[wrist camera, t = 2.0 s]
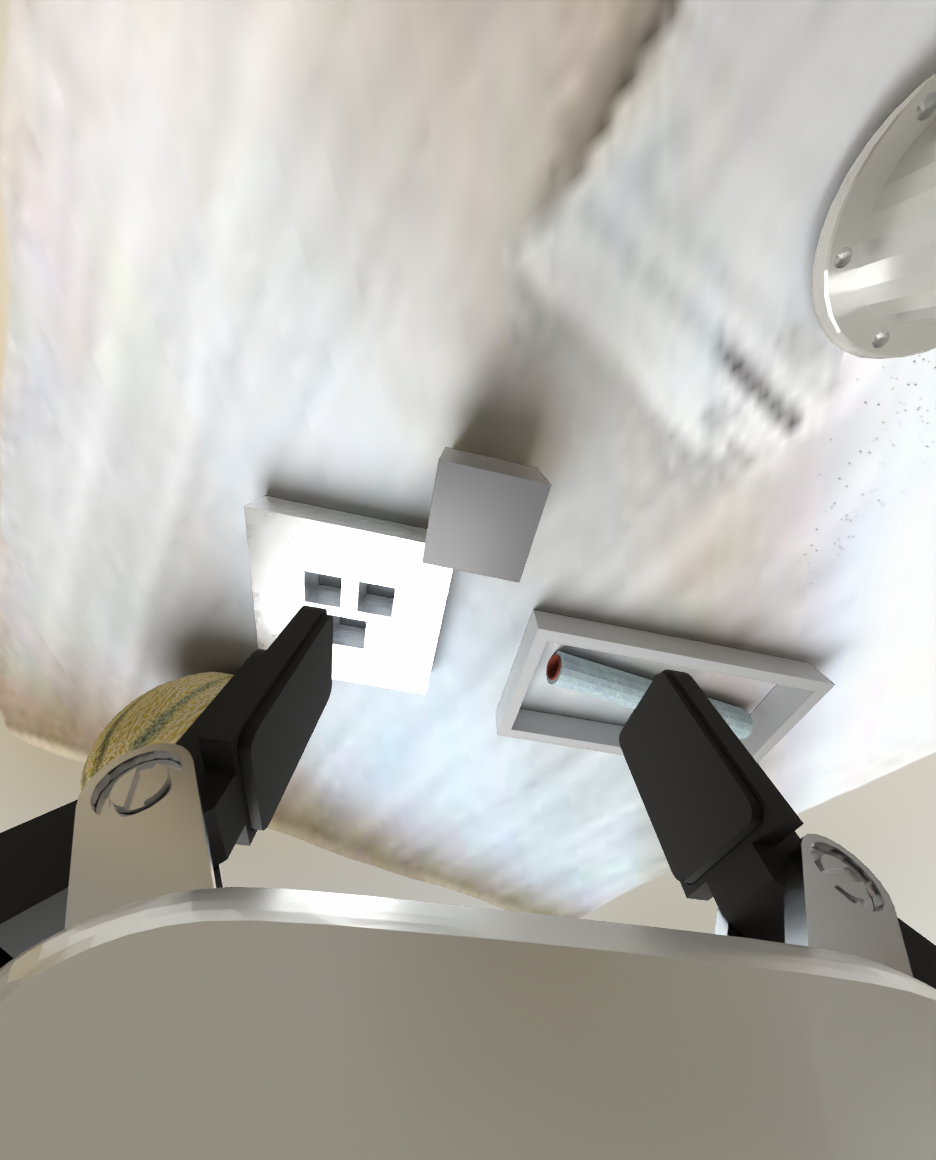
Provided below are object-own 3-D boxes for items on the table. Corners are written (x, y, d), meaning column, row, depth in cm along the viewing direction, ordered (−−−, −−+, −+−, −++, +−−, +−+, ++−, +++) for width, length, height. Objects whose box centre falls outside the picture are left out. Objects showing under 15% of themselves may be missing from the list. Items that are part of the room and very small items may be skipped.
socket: (265, 495, 28) (244, 506, 26) (458, 535, 29) (457, 549, 27) (275, 646, 36) (259, 666, 33) (429, 673, 37) (425, 694, 34)
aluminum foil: (542, 666, 37) (548, 691, 34) (572, 618, 34) (581, 640, 31) (719, 720, 40) (738, 746, 37) (761, 680, 37) (786, 706, 34)
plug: (448, 441, 26) (438, 459, 19) (531, 460, 26) (551, 484, 19) (434, 521, 29) (421, 563, 22) (508, 537, 29) (519, 582, 22)
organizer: (533, 609, 33) (538, 628, 30) (808, 662, 35) (835, 684, 33) (495, 712, 40) (497, 735, 37) (728, 750, 42) (745, 774, 39)
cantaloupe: (292, 751, 44) (213, 906, 31) (168, 712, 41) (22, 865, 28) (325, 674, 37) (243, 827, 24) (181, 621, 34) (-2, 764, 21)
